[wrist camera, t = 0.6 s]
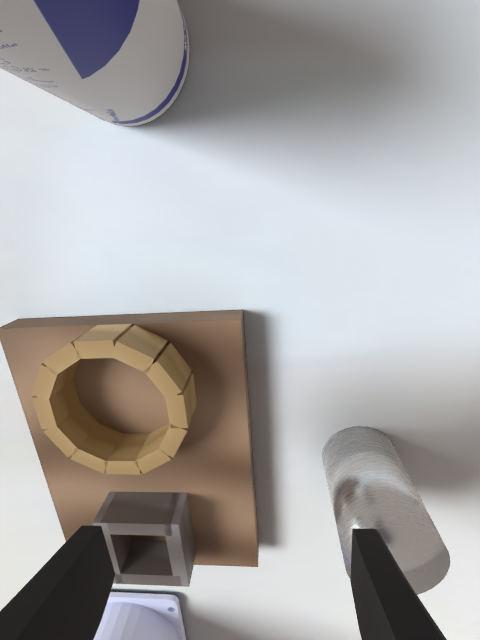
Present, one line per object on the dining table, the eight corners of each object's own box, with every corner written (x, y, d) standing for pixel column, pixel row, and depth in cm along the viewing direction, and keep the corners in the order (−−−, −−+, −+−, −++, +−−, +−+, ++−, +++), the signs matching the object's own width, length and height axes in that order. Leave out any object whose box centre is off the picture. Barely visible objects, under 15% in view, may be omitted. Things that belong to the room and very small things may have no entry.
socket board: (258, 543, 22) (256, 603, 18) (84, 538, 23) (53, 594, 20) (242, 309, 16) (236, 336, 13) (18, 319, 18) (-39, 345, 14)
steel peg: (391, 483, 19) (442, 599, 14) (321, 483, 20) (343, 595, 14) (397, 426, 18) (456, 528, 12) (322, 426, 18) (347, 525, 13)
